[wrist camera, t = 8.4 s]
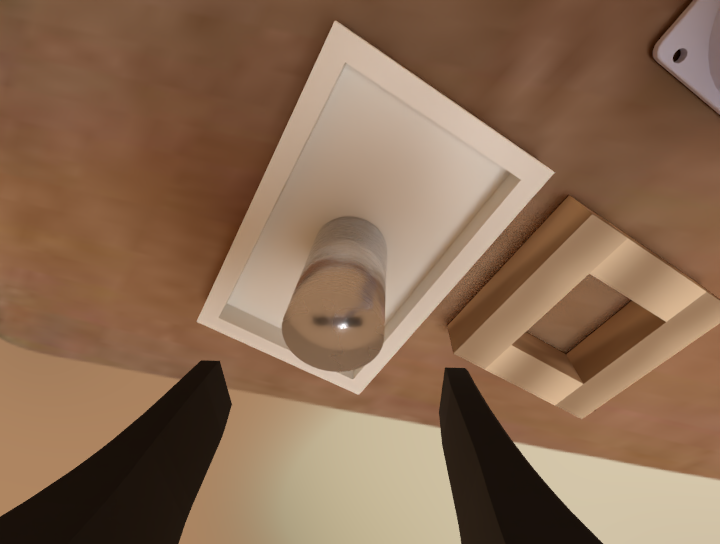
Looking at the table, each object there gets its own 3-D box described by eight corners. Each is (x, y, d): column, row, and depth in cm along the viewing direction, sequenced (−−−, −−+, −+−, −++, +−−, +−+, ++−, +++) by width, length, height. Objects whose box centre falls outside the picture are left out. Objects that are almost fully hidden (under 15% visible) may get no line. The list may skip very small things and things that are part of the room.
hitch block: (700, 284, 21) (736, 311, 19) (565, 388, 26) (581, 419, 24) (569, 194, 19) (592, 213, 17) (447, 325, 24) (453, 353, 22)
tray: (538, 160, 18) (554, 172, 17) (360, 371, 26) (358, 394, 25) (340, 22, 16) (334, 20, 14) (210, 301, 24) (196, 321, 22)
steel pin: (398, 267, 21) (400, 356, 15) (334, 290, 22) (312, 381, 16) (368, 204, 19) (356, 277, 13) (300, 232, 20) (261, 311, 14)
